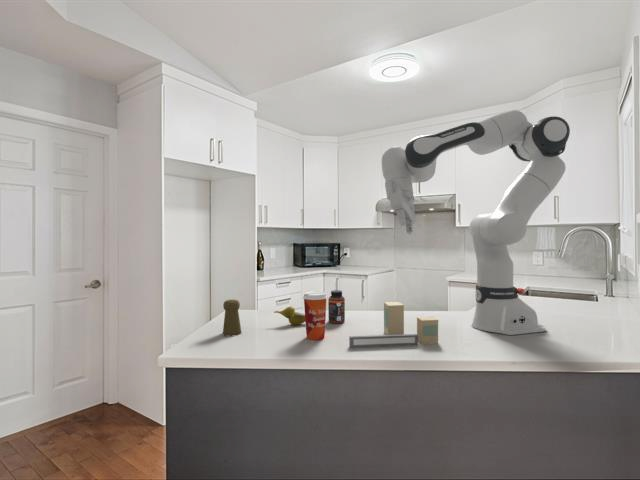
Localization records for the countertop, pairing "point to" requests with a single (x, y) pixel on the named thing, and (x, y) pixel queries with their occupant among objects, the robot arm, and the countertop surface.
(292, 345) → the countertop surface
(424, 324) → the tea box
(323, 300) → the paper cup
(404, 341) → the rail
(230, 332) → the cork
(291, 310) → the yellow toy bird
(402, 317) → the tan rectangular block
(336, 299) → the supplement bottle
